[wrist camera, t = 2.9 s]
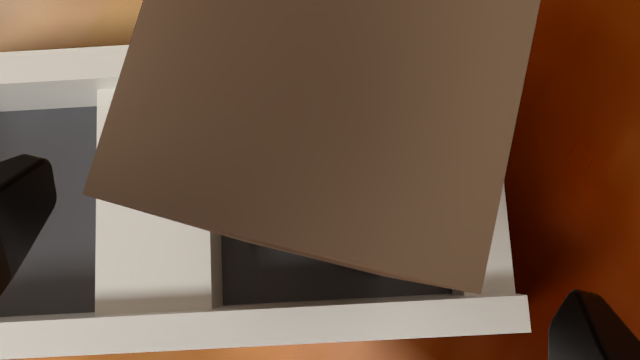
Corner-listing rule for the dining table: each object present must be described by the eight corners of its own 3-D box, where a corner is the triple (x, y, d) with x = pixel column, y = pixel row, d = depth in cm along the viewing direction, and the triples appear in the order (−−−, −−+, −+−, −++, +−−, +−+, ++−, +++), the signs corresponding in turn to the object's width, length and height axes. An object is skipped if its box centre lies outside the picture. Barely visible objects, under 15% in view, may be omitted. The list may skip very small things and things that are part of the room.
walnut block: (410, 145, 19) (557, -82, 7) (380, 276, 18) (481, 295, 6) (282, 114, 19) (193, -159, 7) (248, 242, 19) (81, 195, 6)
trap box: (472, 59, 20) (497, 23, 17) (499, 321, 18) (531, 332, 15) (-267, 102, 20) (-371, 74, 17) (-297, 362, 19) (-416, 381, 16)
